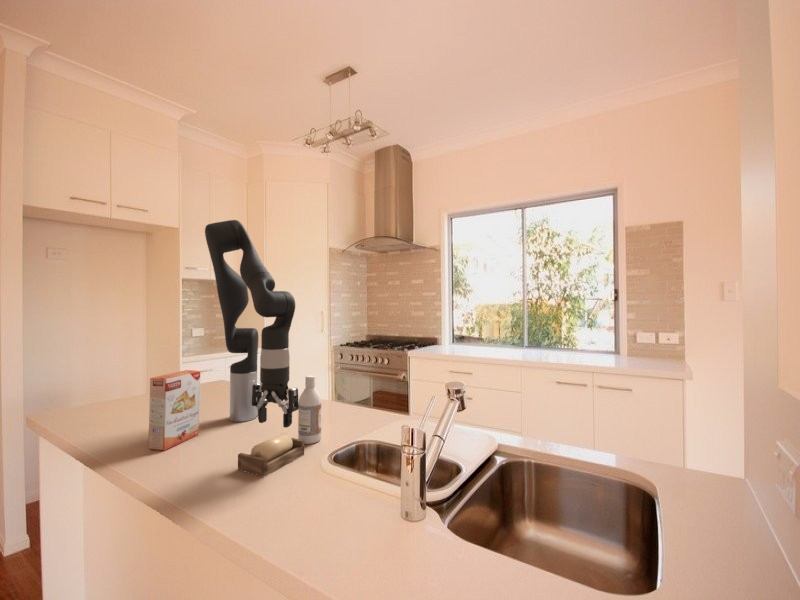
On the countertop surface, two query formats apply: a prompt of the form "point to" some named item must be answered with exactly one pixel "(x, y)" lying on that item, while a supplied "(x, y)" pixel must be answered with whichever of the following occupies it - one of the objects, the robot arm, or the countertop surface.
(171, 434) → the cracker box
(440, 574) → the countertop surface
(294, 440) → the cradle
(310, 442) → the bath foam
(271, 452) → the roll
